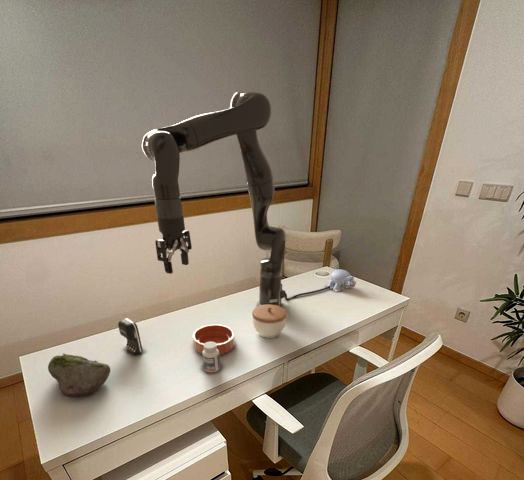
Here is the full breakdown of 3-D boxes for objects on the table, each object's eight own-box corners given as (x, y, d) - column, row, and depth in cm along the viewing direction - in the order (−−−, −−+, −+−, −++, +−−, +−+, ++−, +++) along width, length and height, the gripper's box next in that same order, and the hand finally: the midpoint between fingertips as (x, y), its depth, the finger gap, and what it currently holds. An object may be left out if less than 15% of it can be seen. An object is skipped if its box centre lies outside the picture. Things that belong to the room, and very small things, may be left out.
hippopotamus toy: (344, 295, 152) (348, 276, 147) (322, 285, 162) (325, 267, 157) (359, 291, 157) (363, 272, 152) (337, 281, 167) (340, 263, 162)
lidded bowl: (247, 338, 119) (246, 311, 113) (259, 322, 129) (259, 297, 123) (279, 344, 116) (280, 317, 109) (289, 328, 125) (291, 302, 119)
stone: (120, 386, 95) (112, 359, 89) (69, 409, 87) (56, 380, 81) (96, 359, 106) (88, 333, 100) (49, 377, 98) (37, 350, 92)
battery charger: (123, 349, 111) (115, 320, 105) (133, 344, 114) (125, 316, 107) (133, 357, 108) (126, 327, 101) (143, 352, 110) (137, 323, 104)
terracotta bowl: (217, 330, 123) (216, 320, 120) (242, 345, 115) (242, 334, 112) (186, 345, 114) (184, 334, 112) (211, 361, 106) (210, 350, 104)
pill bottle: (213, 361, 107) (211, 338, 102) (223, 368, 103) (222, 344, 98) (200, 367, 103) (198, 344, 98) (210, 374, 100) (208, 351, 95)
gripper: (165, 221, 86) (174, 278, 95) (194, 211, 97) (199, 263, 106) (143, 218, 89) (153, 274, 98) (174, 208, 99) (180, 260, 109)
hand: (177, 268), depth 102 cm, fingers open, 8 cm apart
